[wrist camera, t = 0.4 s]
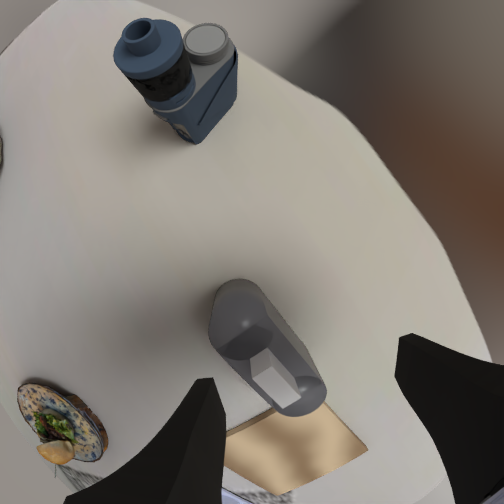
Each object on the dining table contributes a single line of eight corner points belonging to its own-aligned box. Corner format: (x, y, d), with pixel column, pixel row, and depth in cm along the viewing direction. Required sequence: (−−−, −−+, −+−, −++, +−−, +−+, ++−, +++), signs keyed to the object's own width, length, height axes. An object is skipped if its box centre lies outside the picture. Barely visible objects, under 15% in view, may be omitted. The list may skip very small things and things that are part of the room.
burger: (77, 375, 20) (39, 422, 13) (127, 457, 22) (110, 505, 15) (8, 373, 20) (-26, 404, 13) (54, 446, 22) (32, 482, 14)
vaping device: (166, 132, 17) (84, 47, 6) (215, 78, 17) (197, -45, 5) (195, 152, 18) (136, 75, 6) (243, 96, 17) (256, -24, 5)
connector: (280, 384, 21) (296, 444, 14) (204, 298, 19) (189, 344, 12) (316, 360, 21) (345, 415, 14) (244, 268, 19) (249, 302, 12)
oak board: (276, 491, 24) (277, 495, 23) (201, 443, 22) (200, 449, 21) (365, 445, 23) (368, 450, 22) (309, 385, 21) (311, 390, 20)
